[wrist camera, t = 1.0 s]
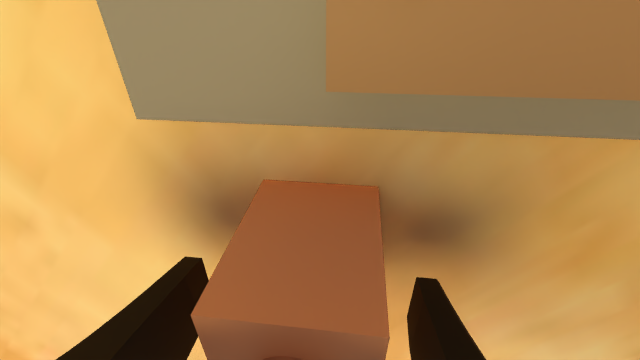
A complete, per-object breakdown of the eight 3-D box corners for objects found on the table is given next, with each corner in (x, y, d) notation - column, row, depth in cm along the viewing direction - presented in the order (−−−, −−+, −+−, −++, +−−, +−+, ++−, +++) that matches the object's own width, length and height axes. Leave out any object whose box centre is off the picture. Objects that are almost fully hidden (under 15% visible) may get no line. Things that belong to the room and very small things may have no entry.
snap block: (378, 186, 11) (392, 378, 6) (369, 268, 14) (372, 461, 8) (263, 179, 12) (171, 349, 6) (273, 259, 14) (213, 436, 9)
